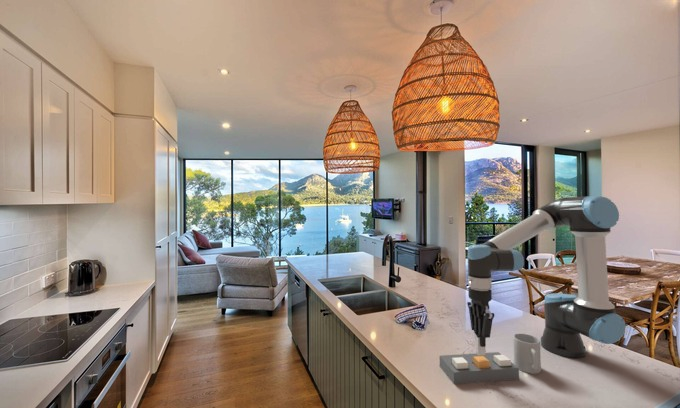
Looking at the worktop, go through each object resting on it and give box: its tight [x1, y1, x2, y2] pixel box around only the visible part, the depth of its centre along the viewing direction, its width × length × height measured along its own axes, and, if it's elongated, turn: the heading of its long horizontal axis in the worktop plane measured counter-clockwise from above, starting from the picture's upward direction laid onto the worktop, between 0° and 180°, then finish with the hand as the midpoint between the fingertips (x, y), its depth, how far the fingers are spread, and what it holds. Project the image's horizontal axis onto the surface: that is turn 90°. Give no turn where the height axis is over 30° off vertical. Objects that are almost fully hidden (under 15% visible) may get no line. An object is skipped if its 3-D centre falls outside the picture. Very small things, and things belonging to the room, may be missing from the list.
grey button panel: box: [438, 351, 520, 385], centre depth 102 cm, size 24×11×6 cm, turn 95°
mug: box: [513, 333, 542, 375], centre depth 104 cm, size 12×8×11 cm
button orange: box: [473, 356, 490, 369], centre depth 100 cm, size 4×4×3 cm
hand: (480, 353), depth 100 cm, fingers closed
